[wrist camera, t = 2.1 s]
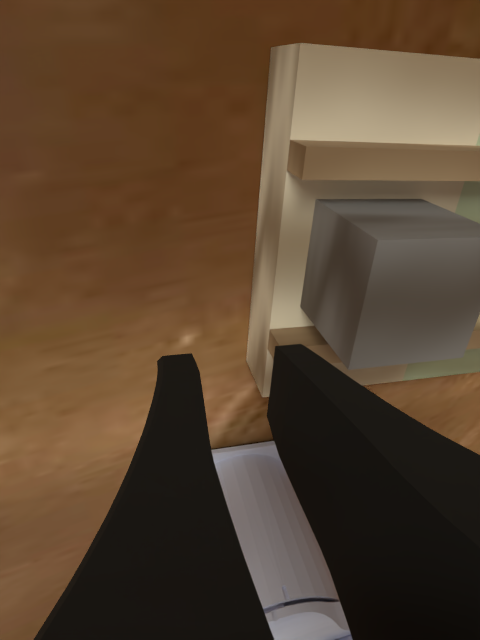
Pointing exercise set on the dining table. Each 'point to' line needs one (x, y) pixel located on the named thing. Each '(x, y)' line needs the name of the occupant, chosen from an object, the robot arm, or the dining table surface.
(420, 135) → the railed deck
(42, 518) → the dining table surface
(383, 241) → the charcoal block
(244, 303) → the dining table surface
